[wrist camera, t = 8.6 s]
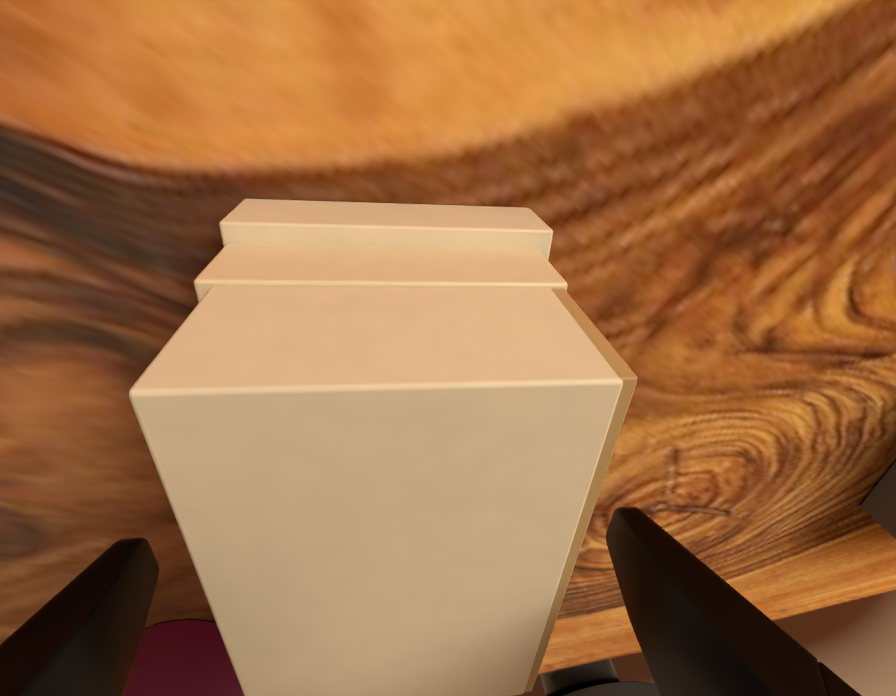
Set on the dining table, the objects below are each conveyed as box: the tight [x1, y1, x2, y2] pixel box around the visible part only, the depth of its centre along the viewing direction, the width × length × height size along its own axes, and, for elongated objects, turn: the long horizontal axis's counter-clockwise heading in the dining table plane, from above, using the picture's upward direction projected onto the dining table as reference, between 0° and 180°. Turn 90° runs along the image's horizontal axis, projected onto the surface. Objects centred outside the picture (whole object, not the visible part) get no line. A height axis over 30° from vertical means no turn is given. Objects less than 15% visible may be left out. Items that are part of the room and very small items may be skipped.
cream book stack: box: [194, 199, 567, 302], centre depth 12 cm, size 10×7×4 cm
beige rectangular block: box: [129, 286, 638, 696], centre depth 9 cm, size 9×6×3 cm
